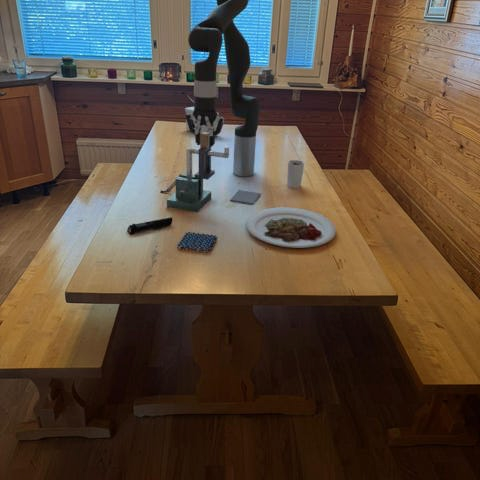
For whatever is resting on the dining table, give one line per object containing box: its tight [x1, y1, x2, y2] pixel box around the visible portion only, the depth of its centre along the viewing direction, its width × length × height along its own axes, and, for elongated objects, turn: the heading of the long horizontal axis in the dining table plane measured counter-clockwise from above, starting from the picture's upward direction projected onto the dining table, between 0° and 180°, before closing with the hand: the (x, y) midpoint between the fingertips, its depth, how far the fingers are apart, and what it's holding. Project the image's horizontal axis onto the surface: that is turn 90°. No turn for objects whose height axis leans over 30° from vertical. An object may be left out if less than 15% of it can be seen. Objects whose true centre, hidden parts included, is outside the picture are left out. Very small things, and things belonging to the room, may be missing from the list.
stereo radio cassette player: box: [184, 95, 220, 137], centre depth 254 cm, size 21×8×20 cm, turn 46°
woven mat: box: [177, 231, 218, 254], centre depth 141 cm, size 10×11×2 cm
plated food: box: [245, 206, 337, 249], centre depth 152 cm, size 30×30×3 cm
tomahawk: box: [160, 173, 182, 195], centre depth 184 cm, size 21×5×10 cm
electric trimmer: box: [126, 216, 173, 236], centre depth 149 cm, size 4×15×3 cm, turn 121°
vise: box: [166, 146, 230, 213], centre depth 162 cm, size 16×21×23 cm
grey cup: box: [286, 159, 305, 189], centre depth 188 cm, size 7×7×10 cm
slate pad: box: [229, 189, 261, 205], centre depth 176 cm, size 11×9×1 cm
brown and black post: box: [194, 132, 216, 181], centre depth 159 cm, size 7×5×15 cm
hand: (205, 145), depth 157 cm, fingers open, 4 cm apart
